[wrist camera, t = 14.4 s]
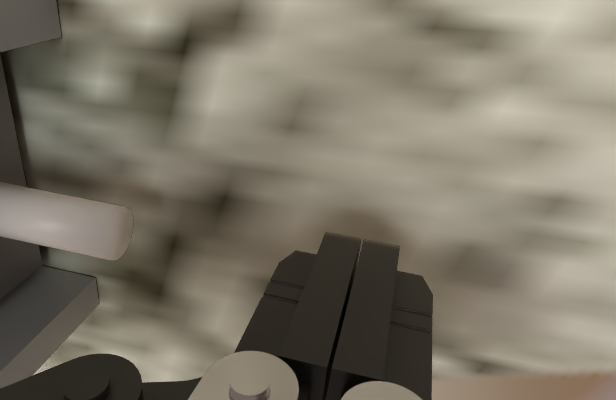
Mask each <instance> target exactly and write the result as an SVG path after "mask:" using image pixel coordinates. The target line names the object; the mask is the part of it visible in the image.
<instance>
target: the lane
mask: <svg viewBox="0 0 616 400" xmlns="http://www.w3.org/2000/svg"><path fill="white" fill-rule="evenodd" d="M60 37H61V30H60V23H59V16H58V9H57V2H56V0H0V52H3V51H7V50H12V49H16V48H20V47H24V46H28V45H32V44H36V43H40V42H44V41H48V40H52V39H56V38H60ZM98 304H99V299H98V292H97V285H96V278H95V277H90V276H86V275H81V274H77V273H72V272H68V271H64V270H59V269H55V268H50V267H46V266H41V267H40V268H38V269H37V270H36V271H35V272H34V273H32V274H31V275H30V276H29V277H28V278H26V279H25V280H24V281H23V282H21V283H20V284H19V285H18V286H17V287H15V288H14V289H13V290H12V291H10V292H9V293H8V294H7V295H6V296H4V297H3V298H2V299H1V300H0V389H1V388H3V387H6V386H8V385H11V384H13V383H16V382H18V381H20V380H23V379H25V378H28V377H30V376H32V375H33V374H34V373H35V372H36V371H37V370H38V369H39V368H40V367H41V366H42V365H43V364H44V362H45V361H46V360H47V359H48V358H49V357H50V356H51V355H52V354H53V353H54V352H55V351H56V350H57V348H58V347H59V346H60V345H61V344H62V343H63V342H64V341H65V340H66V339H67V338H68V337H69V336H70V334H71V333H72V332H73V331H74V330H75V329H76V328H77V327H78V326H79V325H80V324H81V323H82V322H83V321H84V319H85V318H86V317H87V316H88V315H89V314H90V313H91V312H92V311H93V310H94V309H95V308H96V307H97V305H98Z"/></svg>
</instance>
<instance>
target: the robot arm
mask: <svg viewBox="0 0 616 400" xmlns="http://www.w3.org/2000/svg"><path fill="white" fill-rule="evenodd" d="M360 245H361V239H360V238H355V237H350V236H345V235H340V234H335V233H329V232H326V233H325V235H324V238H323V240H322V243H321V246H320V248H319V251H318V253H317V255H315V254H310V253H306V252H301V251H295V252H293V253H292V254H291V255H289V256H288V257H286V258H285V259H284V260H282V261H281V262H279V264H278V266H277V268H276V270H275V272H274V274H273V276H272V278H271V281H270V283H269V284H268V286H267V288H266V290H265V292H264V296H263V297H262V298H261V300H260V302H259V304H258V306H257V308H256V310H255V312H254V314H253V316H252V318H251V320H250V322H249V324H248V326H247V328H246V330H245V332H244V334H243V336H242V338H241V340H240V342H239V344H238V346H237V348H236V350H235V352H234V353H233V354H230V355H227V356H225V357H223V358H221V359H219V360H218V361H216V362H215V363H214V364H213V365H212V366H211V367H210V368H209V369H208V370H207V371H206V373H205V374H204V376H203V377H200V378H197V379H193V380H188V381H177V382H148V383H142V380H141V375H140V373H139V371H138V369H137V368H136V366H135V365H134V364H133V363H131V362H130V361H129V360H127V359H125V358H123V357H120V356H117V355H112V354H91V355H86V356H82V357H78V358H76V359H73V360H70V361H68V362H65V363H63V364H60V365H58V366H55V367H53V368H50V369H48V370H45V371H43V372H40V373H38V374H35V375H33V376H30V377H28V378H25V379H23V380H20V381H18V382H16V383H13V384H11V385H8V386H6V387H3V388H1V389H0V400H432V399H431V392H432V390H431V389H432V308H433V294H432V293H431V291H430V289H429V287H428V286H427V284H426V282H425V280H424V279H423V277H422V276H419V275H414V274H409V273H405V272H400V271H397V264H398V256H399V247H400V246H397V245H392V244H386V243H381V242H376V241H371V240H366V239H364V241H363V245H362V249H361V253H360V257H359V251H360ZM358 258H359V261H358ZM357 264H358V265H357Z"/></svg>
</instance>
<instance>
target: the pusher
mask: <svg viewBox="0 0 616 400" xmlns="http://www.w3.org/2000/svg"><path fill="white" fill-rule="evenodd" d="M133 224H134V223H133V216H132V213H131V211H130V209H129V208H127V207H123V206H118V205H113V204H108V203H103V202H98V201H93V200H88V199H83V198H78V197H73V196H68V195H63V194H58V193H53V192H48V191H43V190H38V189H33V188H28V187H27V185H26V180H25V175H24V170H23V165H22V160H21V155H20V150H19V146H18V141H17V136H16V131H15V126H14V121H13V116H12V111H11V106H10V101H9V96H8V91H7V86H6V81H5V76H4V71H3V66H2V61H1V56H0V300H1V299H2V298H3V297H4V296H6V295H7V294H8V293H9V292H10V291H12V290H13V289H14V288H15V287H17V286H18V285H19V284H20V283H21V282H23V281H24V280H25V279H26V278H28V277H29V276H30V275H31V274H32V273H34V272H35V271H36V270H37V269H38V268H40V267H41V266H42V260H41V255H40V250H39V245H42V246H47V247H52V248H56V249H61V250H65V251H70V252H75V253H79V254H84V255H88V256H93V257H98V258H102V259H107V260H111V261H114V260H117V259H119V258H120V257H121V256H122V255H123V254H124V253H125V251H126V249H127V248H128V246H129V243H130V241H131V238H132V233H133Z"/></svg>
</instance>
